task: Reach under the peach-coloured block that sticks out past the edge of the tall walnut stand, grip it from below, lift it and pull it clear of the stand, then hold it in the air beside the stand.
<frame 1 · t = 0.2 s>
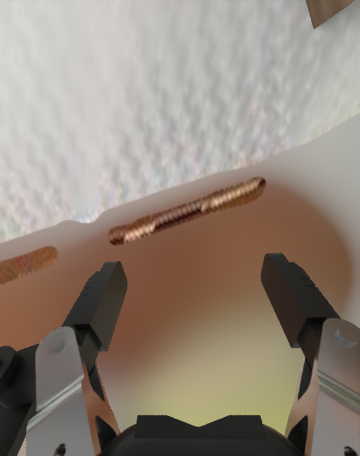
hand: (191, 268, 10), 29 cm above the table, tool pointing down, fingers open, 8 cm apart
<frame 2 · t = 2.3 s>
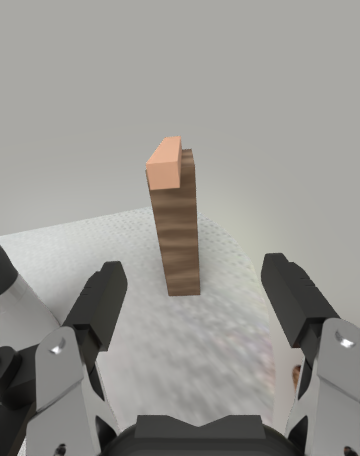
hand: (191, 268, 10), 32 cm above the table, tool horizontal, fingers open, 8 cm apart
peach-coloured block: (171, 164, 32), point 32 cm above the table, touching stand
stand: (184, 272, 53), on the table
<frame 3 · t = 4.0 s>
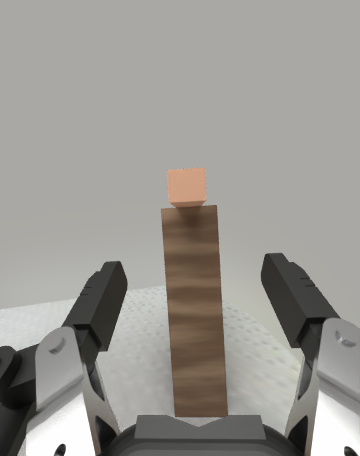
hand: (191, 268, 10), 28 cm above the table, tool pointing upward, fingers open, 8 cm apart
peach-coloured block: (188, 208, 29), point 32 cm above the table, touching stand
stand: (198, 372, 36), on the table
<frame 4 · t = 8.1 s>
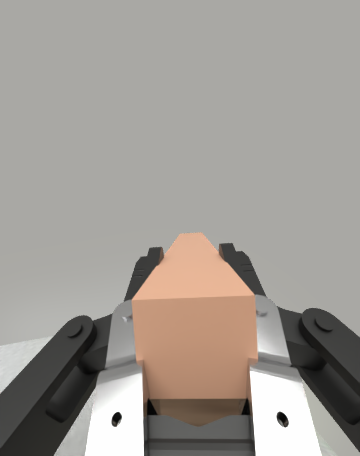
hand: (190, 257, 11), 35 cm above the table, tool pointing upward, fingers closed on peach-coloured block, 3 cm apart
peach-coloured block: (193, 274, 17), point 32 cm above the table, touching gripper, stand
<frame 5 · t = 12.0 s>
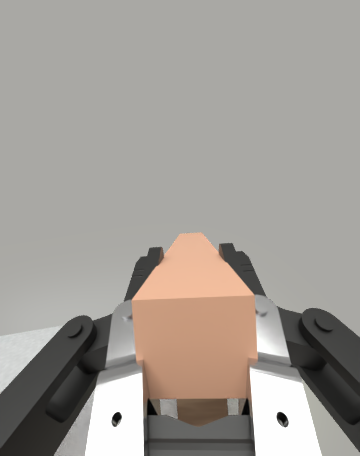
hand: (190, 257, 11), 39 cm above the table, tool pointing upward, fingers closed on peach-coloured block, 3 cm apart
peach-coloured block: (193, 274, 17), point 36 cm above the table, touching gripper
stand: (203, 417, 38), on the table
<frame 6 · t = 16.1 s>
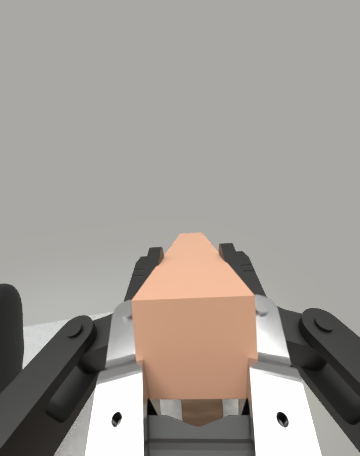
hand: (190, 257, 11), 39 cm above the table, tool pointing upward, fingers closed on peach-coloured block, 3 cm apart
peach-coloured block: (193, 274, 17), point 36 cm above the table, touching gripper
stand: (200, 388, 44), on the table
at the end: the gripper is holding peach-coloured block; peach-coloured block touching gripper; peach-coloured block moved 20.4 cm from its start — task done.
